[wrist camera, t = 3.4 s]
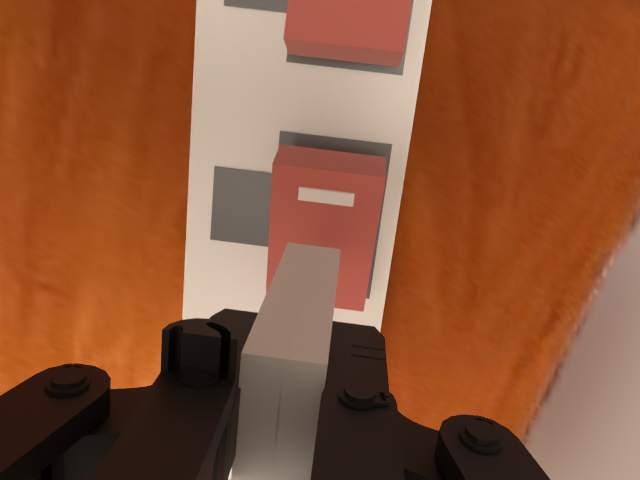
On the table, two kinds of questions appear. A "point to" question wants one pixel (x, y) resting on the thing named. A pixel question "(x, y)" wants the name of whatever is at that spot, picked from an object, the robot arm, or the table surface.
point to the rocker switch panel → (288, 129)
